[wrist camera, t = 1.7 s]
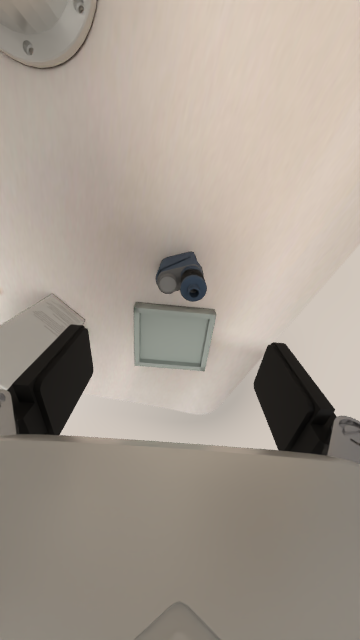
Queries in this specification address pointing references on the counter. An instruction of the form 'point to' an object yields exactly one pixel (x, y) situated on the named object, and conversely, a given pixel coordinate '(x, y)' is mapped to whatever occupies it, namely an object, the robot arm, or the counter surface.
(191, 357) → the tray
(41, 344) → the skincare box
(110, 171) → the counter surface
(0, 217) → the counter surface
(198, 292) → the vaping device
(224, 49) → the counter surface
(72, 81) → the counter surface
